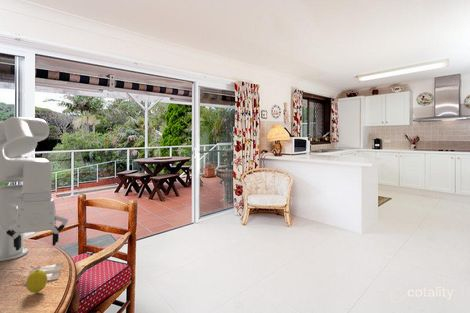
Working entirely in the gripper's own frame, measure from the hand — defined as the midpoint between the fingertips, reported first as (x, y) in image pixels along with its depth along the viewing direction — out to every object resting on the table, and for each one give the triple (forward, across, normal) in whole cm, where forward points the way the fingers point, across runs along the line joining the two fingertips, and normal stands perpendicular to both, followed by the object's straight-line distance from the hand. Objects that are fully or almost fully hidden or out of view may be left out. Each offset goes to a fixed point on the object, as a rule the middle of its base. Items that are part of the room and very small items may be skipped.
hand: (36, 246), depth 83 cm
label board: (+16, 0, +13) cm, 21 cm away
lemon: (+16, 0, 0) cm, 16 cm away
